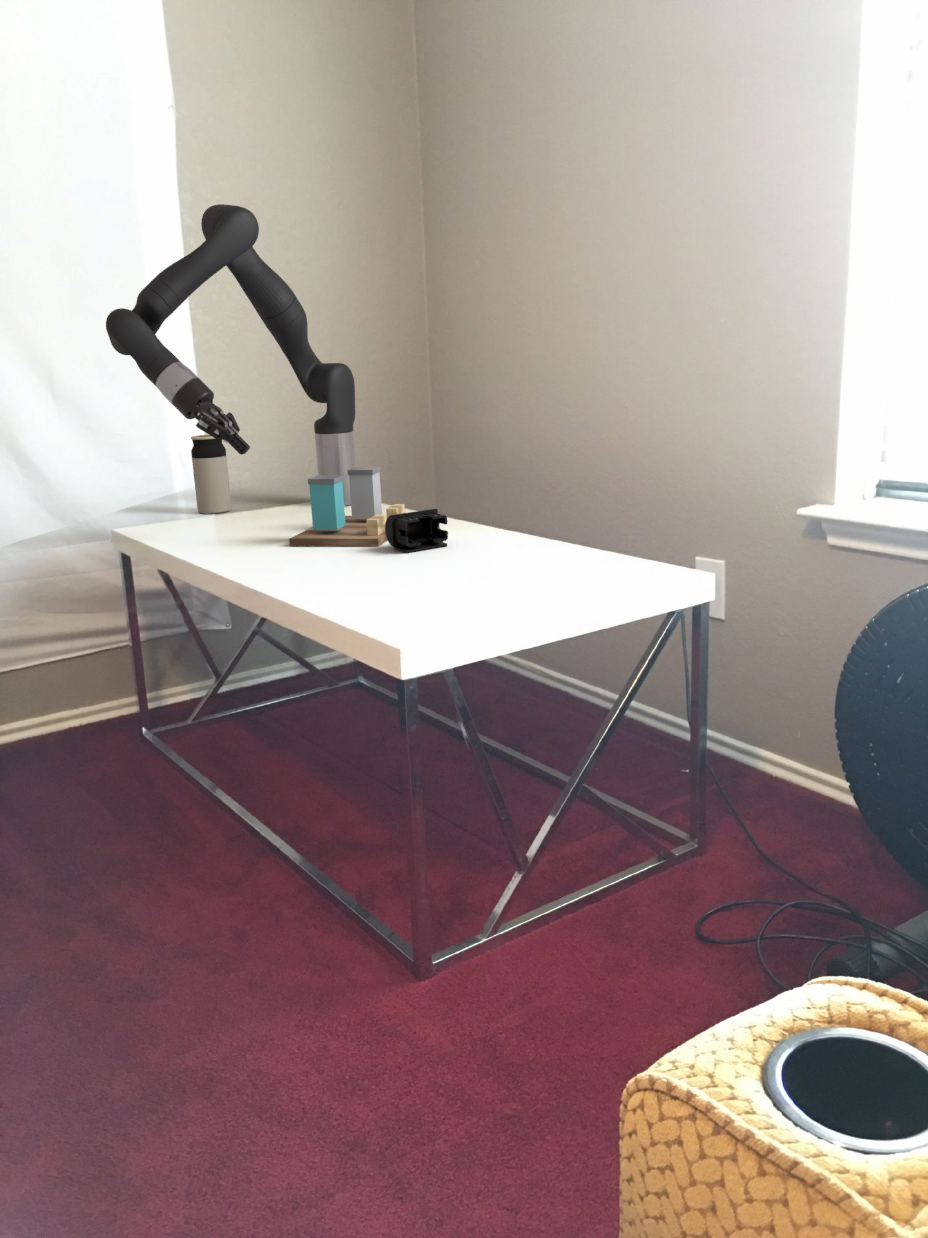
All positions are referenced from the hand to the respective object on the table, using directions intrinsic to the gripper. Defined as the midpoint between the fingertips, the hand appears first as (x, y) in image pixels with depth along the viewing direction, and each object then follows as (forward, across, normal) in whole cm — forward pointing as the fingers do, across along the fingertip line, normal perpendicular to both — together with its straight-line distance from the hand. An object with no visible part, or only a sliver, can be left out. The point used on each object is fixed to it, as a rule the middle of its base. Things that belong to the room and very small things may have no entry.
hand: (246, 451), depth 208 cm
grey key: (+25, +11, -4) cm, 28 cm away
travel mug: (-5, +33, +30) cm, 45 cm away
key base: (+27, +4, -2) cm, 27 cm away
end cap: (+39, -9, -14) cm, 42 cm away
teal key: (+23, -2, -2) cm, 23 cm away
